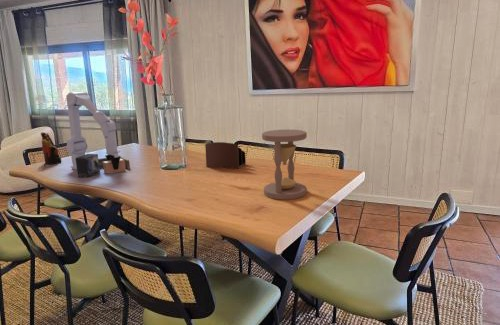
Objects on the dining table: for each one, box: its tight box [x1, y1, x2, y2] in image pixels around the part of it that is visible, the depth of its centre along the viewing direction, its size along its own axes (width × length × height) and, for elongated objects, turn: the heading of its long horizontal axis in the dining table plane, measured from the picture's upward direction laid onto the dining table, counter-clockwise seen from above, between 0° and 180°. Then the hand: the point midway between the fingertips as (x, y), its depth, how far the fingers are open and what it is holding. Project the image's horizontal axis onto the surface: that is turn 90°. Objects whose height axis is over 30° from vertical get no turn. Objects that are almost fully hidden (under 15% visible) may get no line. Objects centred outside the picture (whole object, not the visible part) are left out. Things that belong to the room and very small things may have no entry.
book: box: [102, 159, 126, 174], centre depth 188 cm, size 5×10×6 cm, turn 128°
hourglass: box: [261, 129, 308, 201], centre depth 138 cm, size 18×18×25 cm
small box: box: [75, 153, 101, 178], centre depth 182 cm, size 11×6×10 cm, turn 168°
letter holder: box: [204, 141, 247, 170], centre depth 188 cm, size 10×20×14 cm, turn 68°
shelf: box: [98, 155, 131, 170], centre depth 194 cm, size 17×14×5 cm
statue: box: [40, 131, 62, 165], centre depth 214 cm, size 12×8×20 cm, turn 49°
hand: (114, 168), depth 188 cm, fingers open, 6 cm apart
